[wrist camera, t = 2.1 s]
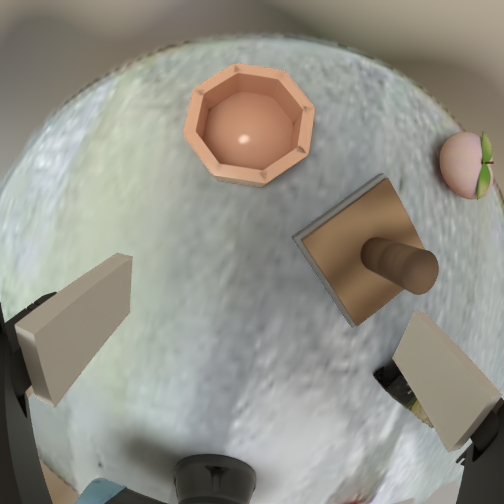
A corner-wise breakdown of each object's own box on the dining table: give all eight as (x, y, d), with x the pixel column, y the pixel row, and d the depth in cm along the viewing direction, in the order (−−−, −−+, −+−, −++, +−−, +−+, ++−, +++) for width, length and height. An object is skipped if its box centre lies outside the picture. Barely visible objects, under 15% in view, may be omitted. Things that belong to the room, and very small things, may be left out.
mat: (424, 261, 35) (429, 263, 33) (348, 323, 36) (352, 327, 34) (378, 174, 33) (384, 173, 31) (291, 237, 34) (294, 238, 32)
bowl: (320, 147, 32) (336, 136, 26) (235, 205, 33) (234, 205, 27) (260, 71, 30) (263, 47, 24) (176, 124, 31) (163, 109, 25)
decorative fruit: (423, 130, 32) (467, 115, 22) (461, 143, 32) (505, 134, 22) (424, 195, 33) (472, 195, 24) (462, 202, 34) (508, 205, 24)
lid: (426, 262, 33) (481, 283, 22) (353, 322, 34) (393, 365, 23) (383, 178, 31) (438, 170, 20) (300, 239, 32) (329, 257, 21)
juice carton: (456, 378, 39) (473, 394, 33) (420, 415, 40) (434, 433, 34) (412, 324, 37) (433, 340, 31) (367, 371, 38) (382, 393, 32)
